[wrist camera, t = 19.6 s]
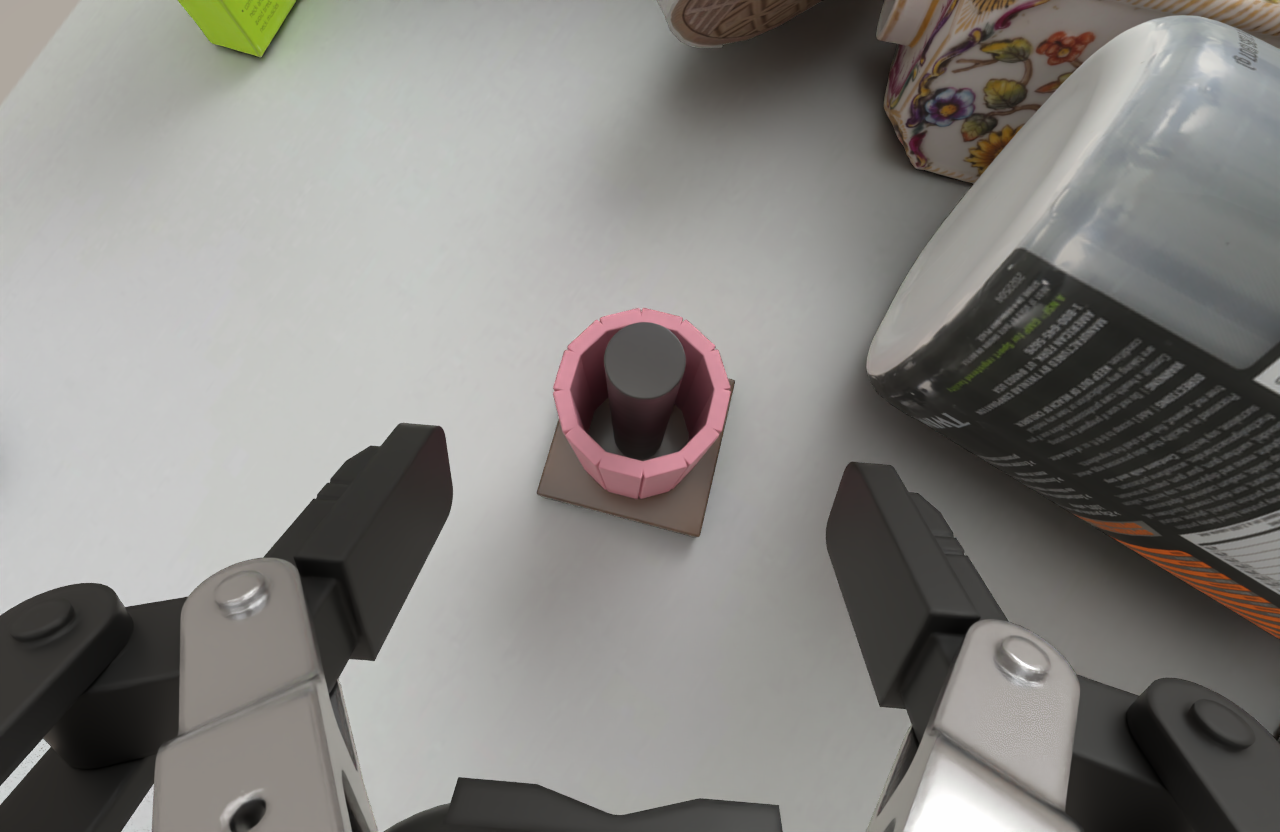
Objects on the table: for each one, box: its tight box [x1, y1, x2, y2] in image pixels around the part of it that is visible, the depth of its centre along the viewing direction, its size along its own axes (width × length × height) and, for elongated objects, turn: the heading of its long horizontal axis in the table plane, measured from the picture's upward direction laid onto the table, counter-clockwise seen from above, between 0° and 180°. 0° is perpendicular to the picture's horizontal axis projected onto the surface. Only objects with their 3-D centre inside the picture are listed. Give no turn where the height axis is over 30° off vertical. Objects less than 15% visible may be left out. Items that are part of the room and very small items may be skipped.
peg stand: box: [537, 322, 735, 537], centre depth 22 cm, size 8×8×12 cm
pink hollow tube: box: [553, 308, 731, 499], centre depth 23 cm, size 6×6×8 cm
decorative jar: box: [876, 0, 1280, 184], centre depth 27 cm, size 12×12×18 cm
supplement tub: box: [867, 15, 1280, 639], centre depth 21 cm, size 16×16×26 cm
